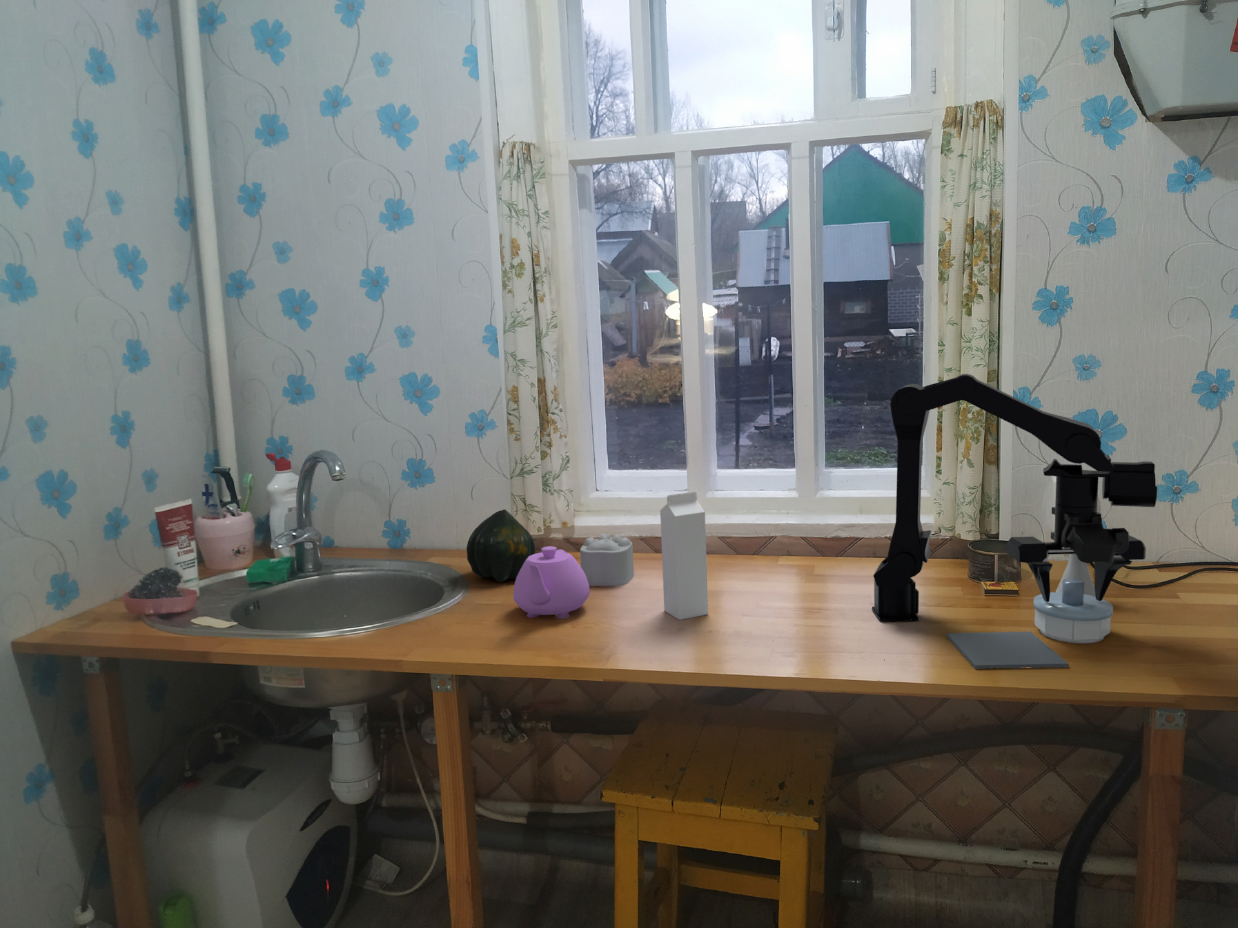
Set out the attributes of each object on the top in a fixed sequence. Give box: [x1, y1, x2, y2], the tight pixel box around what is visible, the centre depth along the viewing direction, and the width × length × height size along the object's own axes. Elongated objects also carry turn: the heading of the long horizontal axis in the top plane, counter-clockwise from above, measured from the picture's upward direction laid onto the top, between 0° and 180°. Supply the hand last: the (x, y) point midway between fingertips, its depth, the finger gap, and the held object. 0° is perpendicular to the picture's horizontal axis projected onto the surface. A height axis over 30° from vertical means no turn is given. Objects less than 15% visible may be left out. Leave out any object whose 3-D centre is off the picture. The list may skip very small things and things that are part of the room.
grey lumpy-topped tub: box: [579, 533, 635, 587], centre depth 174 cm, size 10×13×9 cm
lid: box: [1033, 579, 1114, 621], centre depth 131 cm, size 11×11×4 cm
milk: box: [659, 491, 709, 621], centre depth 148 cm, size 6×6×22 cm
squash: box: [466, 509, 536, 583], centre depth 178 cm, size 14×15×15 cm
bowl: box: [1034, 608, 1112, 645], centre depth 131 cm, size 10×10×4 cm
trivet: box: [946, 630, 1070, 670], centre depth 126 cm, size 13×13×1 cm
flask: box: [1055, 554, 1096, 597], centre depth 146 cm, size 7×7×10 cm
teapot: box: [512, 545, 591, 620], centre depth 153 cm, size 20×14×12 cm
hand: (1072, 600), depth 131 cm, fingers open, 8 cm apart
